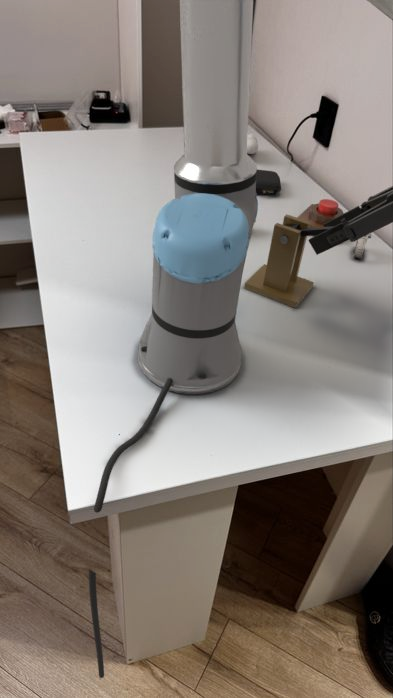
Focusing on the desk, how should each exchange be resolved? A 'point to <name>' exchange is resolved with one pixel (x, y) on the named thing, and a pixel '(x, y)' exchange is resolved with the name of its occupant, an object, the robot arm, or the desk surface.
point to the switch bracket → (283, 266)
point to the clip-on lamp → (251, 144)
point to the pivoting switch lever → (308, 230)
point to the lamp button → (328, 207)
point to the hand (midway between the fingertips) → (321, 238)
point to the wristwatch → (360, 246)
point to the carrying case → (267, 182)
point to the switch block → (317, 216)
